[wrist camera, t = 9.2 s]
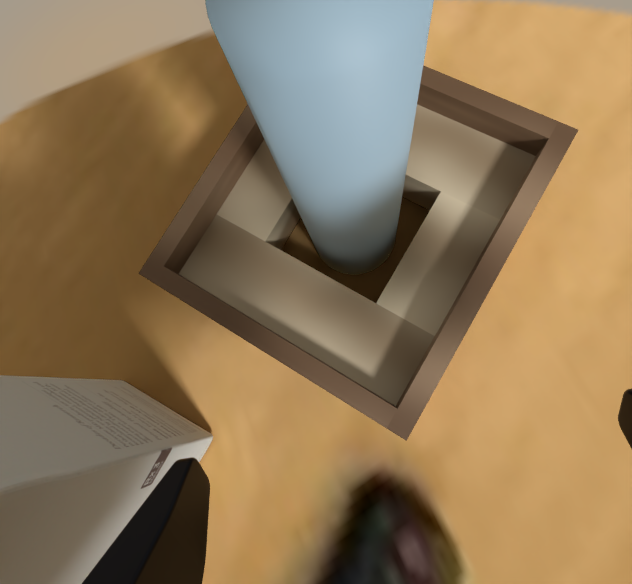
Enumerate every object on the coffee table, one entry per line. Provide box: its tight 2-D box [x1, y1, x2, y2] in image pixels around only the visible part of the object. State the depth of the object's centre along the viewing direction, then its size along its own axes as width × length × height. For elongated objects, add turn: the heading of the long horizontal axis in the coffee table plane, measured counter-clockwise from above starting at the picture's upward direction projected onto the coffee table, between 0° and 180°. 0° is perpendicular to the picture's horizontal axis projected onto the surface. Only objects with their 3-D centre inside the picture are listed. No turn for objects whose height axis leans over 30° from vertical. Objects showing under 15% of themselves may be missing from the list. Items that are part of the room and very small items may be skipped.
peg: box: [206, 0, 434, 275], centre depth 14 cm, size 4×4×14 cm
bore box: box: [139, 66, 578, 440], centre depth 19 cm, size 14×13×4 cm
